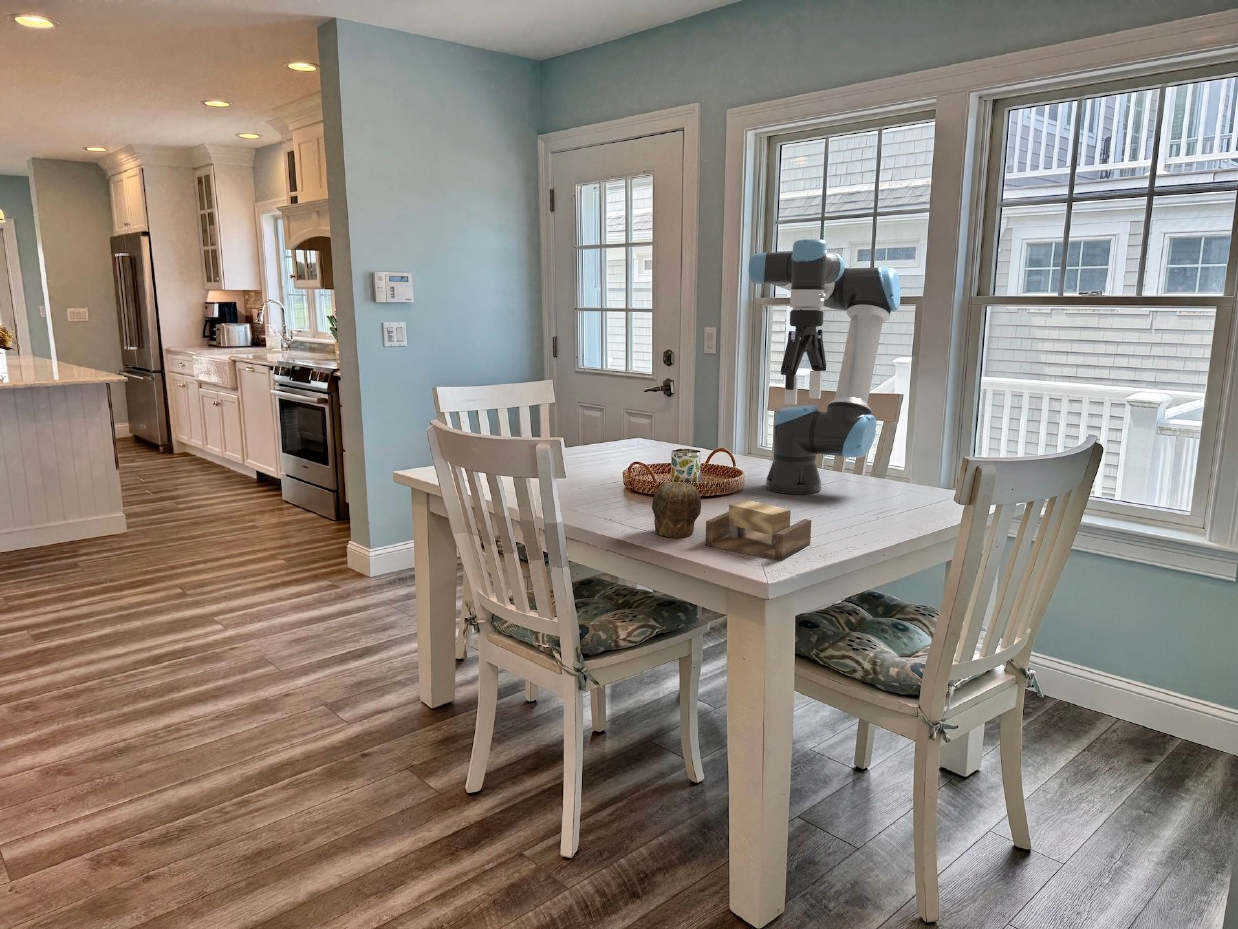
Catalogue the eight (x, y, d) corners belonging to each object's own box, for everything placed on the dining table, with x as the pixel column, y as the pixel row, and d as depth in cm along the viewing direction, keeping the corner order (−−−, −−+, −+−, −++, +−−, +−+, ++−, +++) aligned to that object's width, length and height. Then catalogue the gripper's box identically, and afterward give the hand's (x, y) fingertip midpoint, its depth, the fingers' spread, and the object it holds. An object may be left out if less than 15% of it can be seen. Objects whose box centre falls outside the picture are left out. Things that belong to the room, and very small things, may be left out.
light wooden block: (789, 530, 177) (790, 510, 176) (771, 535, 173) (772, 514, 172) (746, 519, 186) (747, 499, 185) (728, 524, 182) (729, 504, 181)
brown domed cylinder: (665, 543, 182) (666, 489, 179) (644, 530, 192) (644, 479, 189) (709, 537, 186) (710, 485, 184) (686, 525, 196) (686, 475, 193)
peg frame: (705, 545, 180) (706, 521, 179) (736, 531, 191) (737, 507, 190) (782, 560, 169) (783, 534, 168) (810, 544, 180) (811, 520, 179)
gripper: (799, 309, 179) (795, 407, 183) (843, 308, 199) (838, 396, 203) (767, 309, 184) (764, 405, 188) (813, 308, 203) (809, 394, 207)
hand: (802, 401), depth 195 cm, fingers open, 13 cm apart
